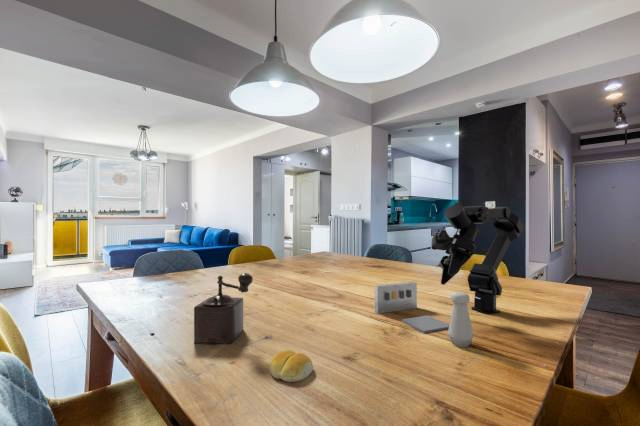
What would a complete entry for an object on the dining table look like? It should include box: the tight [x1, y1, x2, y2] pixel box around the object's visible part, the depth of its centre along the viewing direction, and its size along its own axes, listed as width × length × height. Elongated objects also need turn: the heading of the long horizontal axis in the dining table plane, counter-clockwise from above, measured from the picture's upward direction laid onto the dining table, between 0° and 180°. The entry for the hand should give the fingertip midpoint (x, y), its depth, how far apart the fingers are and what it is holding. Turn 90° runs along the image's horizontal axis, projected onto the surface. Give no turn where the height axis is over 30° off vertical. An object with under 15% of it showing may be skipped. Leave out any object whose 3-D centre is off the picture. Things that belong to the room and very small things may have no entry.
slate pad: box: [401, 314, 450, 334], centre depth 91 cm, size 10×10×1 cm
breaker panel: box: [374, 281, 418, 315], centre depth 104 cm, size 16×3×9 cm, turn 111°
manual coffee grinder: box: [193, 272, 254, 345], centre depth 83 cm, size 16×11×18 cm
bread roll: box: [269, 350, 314, 383], centre depth 64 cm, size 8×9×4 cm
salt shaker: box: [447, 291, 474, 348], centre depth 77 cm, size 6×6×13 cm
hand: (445, 279), depth 91 cm, fingers open, 9 cm apart
